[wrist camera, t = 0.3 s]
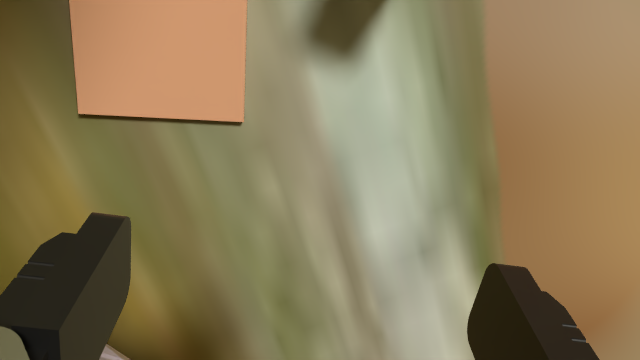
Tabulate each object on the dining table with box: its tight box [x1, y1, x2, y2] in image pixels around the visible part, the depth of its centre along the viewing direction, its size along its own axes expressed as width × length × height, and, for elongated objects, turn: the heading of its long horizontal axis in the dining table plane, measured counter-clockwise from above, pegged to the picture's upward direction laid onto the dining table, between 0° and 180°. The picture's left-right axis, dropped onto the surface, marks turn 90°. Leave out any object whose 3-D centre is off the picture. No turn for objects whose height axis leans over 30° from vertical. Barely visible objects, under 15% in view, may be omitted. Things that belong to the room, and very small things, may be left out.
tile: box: [69, 0, 247, 122], centre depth 35 cm, size 11×11×1 cm
